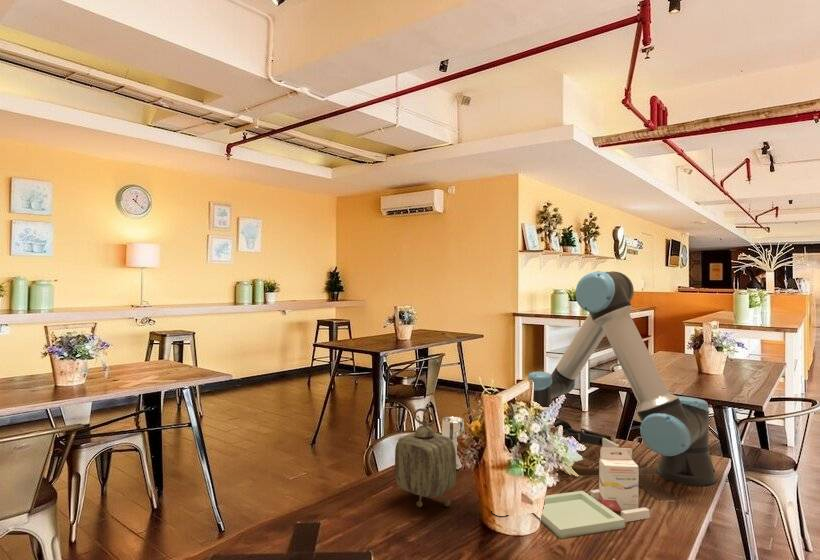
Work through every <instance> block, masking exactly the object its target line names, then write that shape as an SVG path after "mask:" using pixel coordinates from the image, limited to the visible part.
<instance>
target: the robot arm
mask: <svg viewBox="0 0 820 560" xmlns="http://www.w3.org/2000/svg"><path fill="white" fill-rule="evenodd" d="M634 291H635V289H634V285H633V283H632V281H631V279H630V278H629V277H628V276H627V275H626V274H624V273H622V272H619V271H614V270H613V271H600V270H597V271H594V272H589V273H587V274H585V275H584V276H582V277H581V278H580V279H579V280H578V282H577V285H576V287H575V293H574V294H575V295H574V296H575V300H576V303H577V304H578V306H579V307H580V308H581V309H583V310H584V311H586V312H587V313H588V315H587V317H586V318H585V320H584V322H583V323H582V324H581V326H580V327H579V330H578V331H577V333H576V334H575V336H574V338H573V339H572V341H571V342H570V344H569V346H568V347H567V348H566V350H565V352H564V353H563V355H562V357H561V358H560V360H559V362H558V363H557V365H556V367H555V368H554V370H553V371H552V372H551V373H549V372H547V371H532V372H530V373H529V374H528V380H533V382H534V401H535V402H537V403H539V404H540V405H542V406H543V407H548V406H549V405H550V404H551V403H552V402H553V401H552V400H553V399H555V398H557V397H560V396H565V395H567V394H569V393H570V392H572V391H573V390H574V389H575V387H576V379H577V378H578V377H579V375H580V373H581V371H582V370H583V369H584V367H585V366H586V365H587V363H588V361H589V359H590V358H591V356H593V353H594V351H595V350H596V349H597V347H598V346H599V344H600V343H601V341H602V339H604V336H606V338H607V340H608V342H609V345H610V346H611V348H612V351H613V352H614V354H615V357H616V359H617V361H618V364H619V366H620V367H621V369H622V372H623V373H624V376H625V378H626V380H627V382H628V384H629V386H630V389H631V390H632V392H633V394H634V397H635V399H636V401H637V402H638V406H637V408H636V414H637V416H638V418H639V420H640V422H641V423H640V427H639V428H640V429H639V432H640V437H641V439H642V441H643V443H644V444H645V445H646V447H647V448H648V449H649V450H651V451H652V452H654V453H656V454H658V455H660V458H659V459H660V460H659V461H658V463H657V474H659V476H660V477H662V478H664V479H666V480H667V481H670V482H673V483H677V484H682V485H687V486H696V487H697V486H700V487H701V486H702V487H703V486H710V485H713V484H715V483H716V482H717V473H716V469H715V468H714V464H713V460H712V458H711V455H710V451H709V450H710V447H709V446H710V445H709V444H710V440H709V439H710V436H709V435H710V430H709V429H710V428H709V427H710V425H709V424H710V423H709V422H710V421H709V419H710V415H709V414H710V409H709V404H708V402H707V401H706V400H704V399H701V398H696V397H690V396H683V395H681V396H680V395H675V394H673V393H671V392H670V391H669V390H668V387H667V386H666V383H665V382H664V380H663V378H662V376H661V373H660V371H659V370H658V367H657V366H656V364H655V362H654V360H653V358H652V356H651V353H650V352H649V349H648V348H647V346H646V343H645V342H644V340H643V337H642V336H641V334H640V332H639V330H638V328H637V326H636V324H635V322H634V320H633V318H632V315H631V311H632V309H633V305H632V304H631V302H632V300H633V297H634ZM559 425H562V426H563V435H564V436H566V437H568V436H573V437H574V438H575V439H576V440H577V441H578V442H579V443H578V444H580V443H581V444H583V443H584V444H590V445H594V446H595V445H596V446H600V447H601V448H602V447H603V448H620V445H619V444H618V443H615V442H614V441H612V436H611V435H608V434H603V433H599V432H596V431H591V430H588V429H586V428H582V427H581V428H580V430H576V429H575V428H572V425H571V424H570V423H569V422H568V421H567V420H564V419H562V418H560V417H558V416H557V418H556V420H555V423H554V426H555V427H557V426H559ZM581 444H580V445H581ZM611 454H616V455H620V452H617V451H615V452H611Z"/></svg>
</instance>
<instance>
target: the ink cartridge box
mask: <svg viewBox="0 0 820 560" xmlns="http://www.w3.org/2000/svg"><path fill="white" fill-rule="evenodd" d="M615 451H617V452H619V453H621V454H619V455H616V454H613V453H611V452H615ZM599 453H600V455H599V460H598V461H599V462H598V463H599V464H598V465H599V468H598V471H599V472H598V476H599V477H598V479H599V480H598V481H599V482H598V483H599V484H598V489H599V500H598V502H600V503H601V504H603V505H604V506H606V507H607V508H609V509H610V510H611V511H613V512H621V511H624V510H631V509H638V508H639V477H640V476H639V474H640V473H639V471H640V470H639V469H640V468H639V465H638V464H637V463H636V462H635V460H633V448H629V447H628V448H625V447H619V448H603V447H602V446H601V447H600V450H599Z"/></svg>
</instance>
